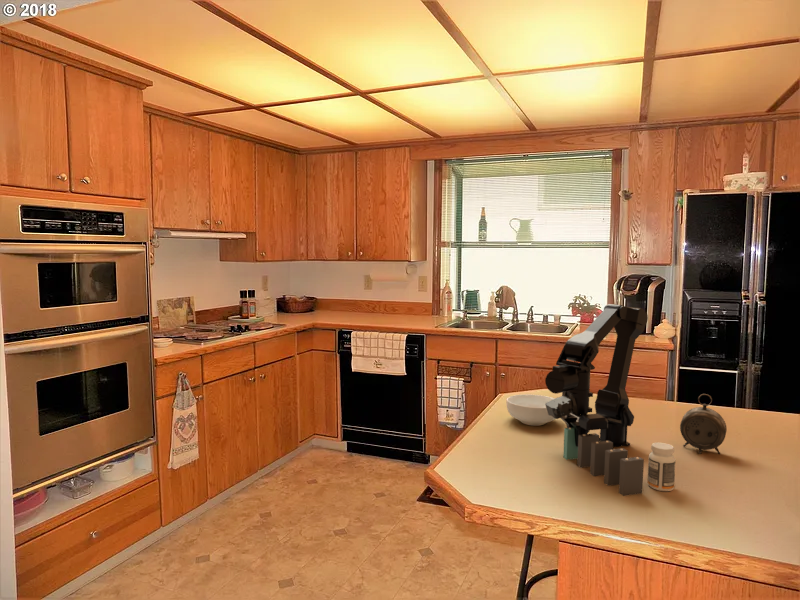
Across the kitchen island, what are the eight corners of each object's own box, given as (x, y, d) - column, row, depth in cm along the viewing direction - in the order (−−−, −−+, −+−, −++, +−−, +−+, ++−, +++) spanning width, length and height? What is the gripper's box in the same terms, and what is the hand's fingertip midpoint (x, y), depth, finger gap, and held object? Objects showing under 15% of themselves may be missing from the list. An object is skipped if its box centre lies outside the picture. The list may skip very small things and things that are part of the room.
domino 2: (594, 463, 143) (595, 432, 142) (598, 465, 142) (599, 434, 141) (577, 465, 142) (578, 433, 141) (580, 467, 140) (582, 435, 140)
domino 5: (637, 490, 127) (639, 455, 127) (642, 493, 126) (644, 458, 125) (618, 492, 126) (620, 457, 125) (623, 495, 125) (625, 460, 124)
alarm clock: (725, 453, 151) (729, 394, 149) (723, 459, 147) (727, 399, 145) (680, 444, 157) (683, 388, 156) (677, 450, 153) (681, 392, 151)
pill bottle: (672, 483, 131) (674, 443, 130) (675, 493, 126) (678, 451, 125) (646, 480, 133) (648, 440, 132) (648, 490, 128) (650, 448, 127)
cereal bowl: (566, 419, 179) (567, 398, 179) (551, 434, 165) (552, 411, 165) (516, 411, 188) (517, 390, 188) (497, 424, 174) (498, 402, 174)
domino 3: (607, 471, 138) (609, 439, 137) (611, 474, 136) (613, 441, 136) (590, 473, 137) (591, 441, 136) (593, 476, 135) (595, 443, 134)
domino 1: (579, 455, 148) (581, 425, 148) (583, 458, 147) (584, 427, 146) (563, 457, 147) (564, 427, 146) (566, 459, 146) (567, 429, 145)
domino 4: (621, 480, 133) (623, 447, 132) (626, 483, 131) (627, 449, 130) (603, 482, 131) (605, 448, 131) (608, 485, 130) (609, 451, 129)
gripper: (532, 380, 152) (531, 436, 154) (571, 399, 134) (568, 461, 136) (568, 378, 155) (566, 432, 157) (610, 396, 137) (607, 457, 139)
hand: (575, 445), depth 147 cm, fingers closed on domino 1, 2 cm apart
